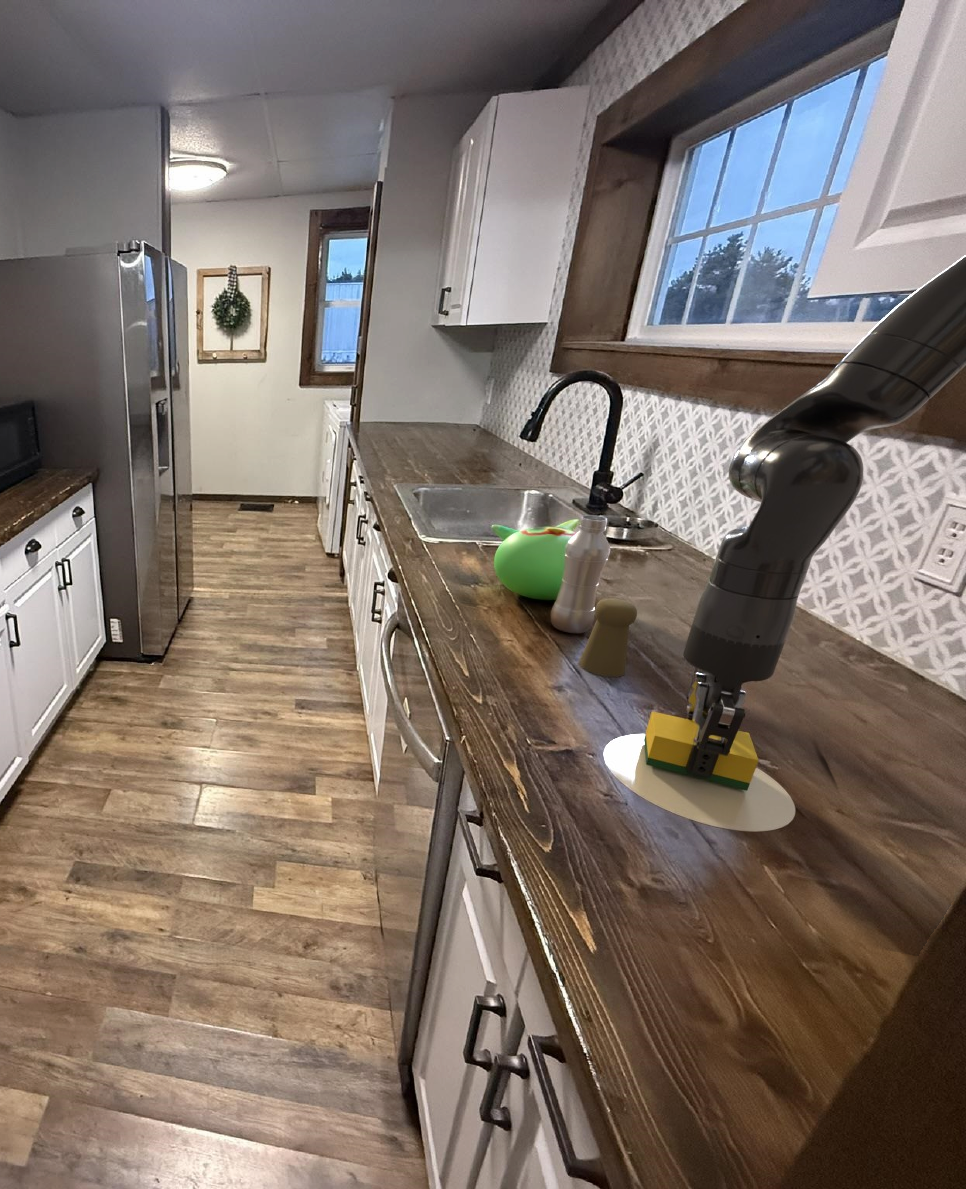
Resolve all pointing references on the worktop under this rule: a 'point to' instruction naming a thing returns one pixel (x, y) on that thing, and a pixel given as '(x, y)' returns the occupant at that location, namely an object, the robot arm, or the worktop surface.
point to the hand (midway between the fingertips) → (694, 758)
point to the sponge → (674, 742)
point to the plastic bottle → (581, 576)
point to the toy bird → (533, 559)
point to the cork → (609, 638)
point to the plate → (700, 792)
